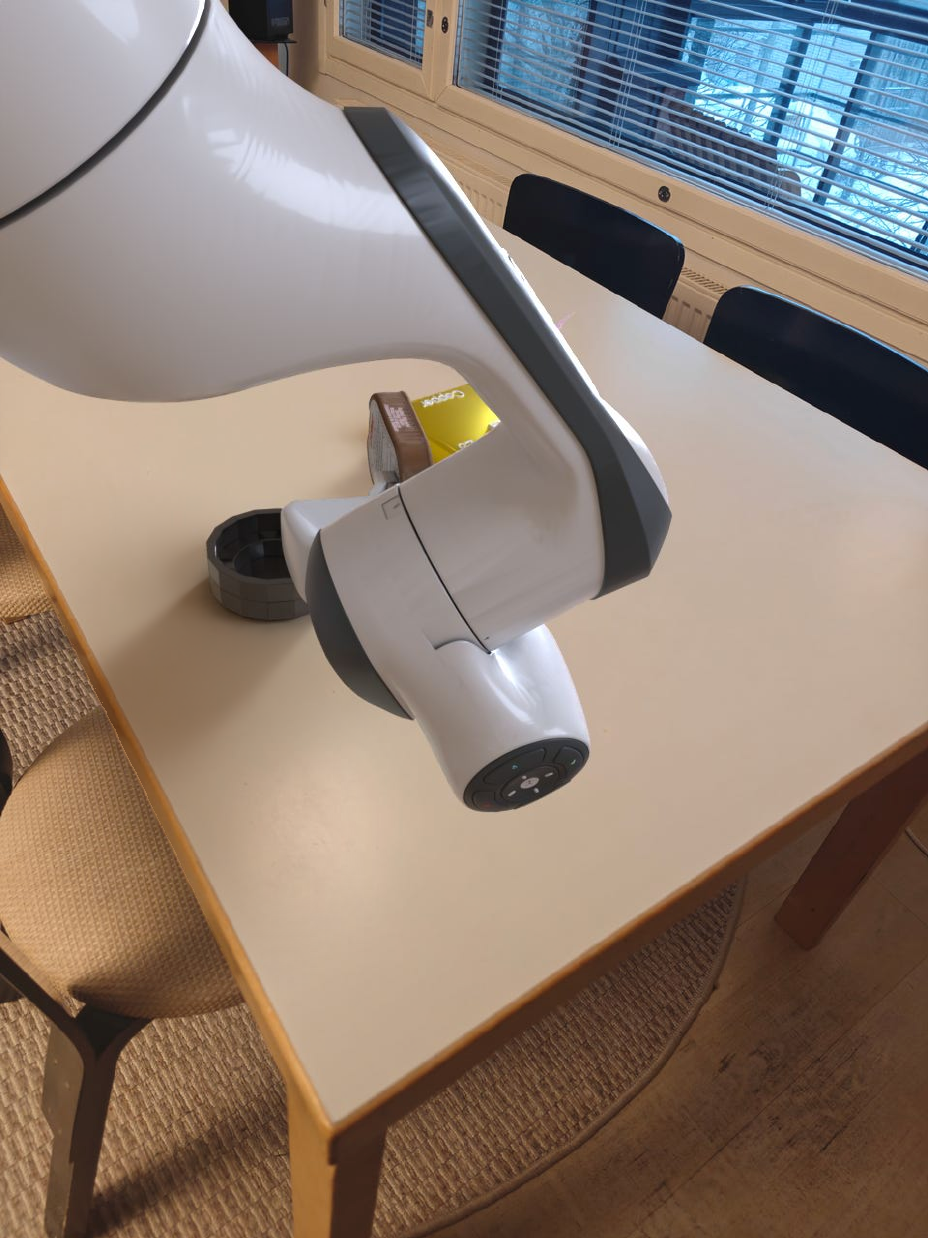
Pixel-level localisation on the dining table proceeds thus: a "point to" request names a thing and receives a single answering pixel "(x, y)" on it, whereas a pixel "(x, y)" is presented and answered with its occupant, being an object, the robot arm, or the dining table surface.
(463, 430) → the element tile
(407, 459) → the tin
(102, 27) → the robot arm
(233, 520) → the dark faceted ashtray
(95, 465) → the dining table surface
